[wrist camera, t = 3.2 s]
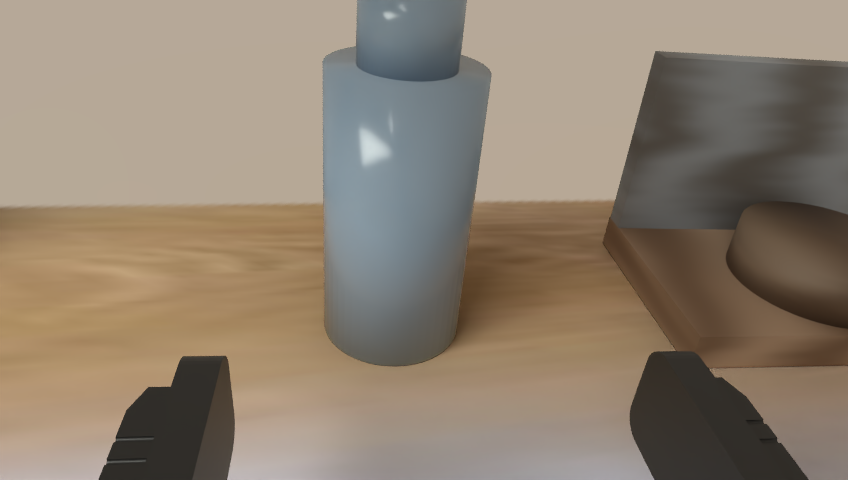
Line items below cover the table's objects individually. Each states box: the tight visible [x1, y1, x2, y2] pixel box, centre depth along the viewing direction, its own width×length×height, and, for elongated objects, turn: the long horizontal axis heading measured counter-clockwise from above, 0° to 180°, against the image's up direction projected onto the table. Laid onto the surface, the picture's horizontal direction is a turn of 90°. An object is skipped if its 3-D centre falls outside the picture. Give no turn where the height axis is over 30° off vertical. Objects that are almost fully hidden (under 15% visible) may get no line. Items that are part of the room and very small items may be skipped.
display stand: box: [603, 51, 848, 368], centre depth 25 cm, size 14×9×10 cm, turn 96°
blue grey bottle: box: [323, 0, 491, 366], centre depth 21 cm, size 5×5×12 cm
